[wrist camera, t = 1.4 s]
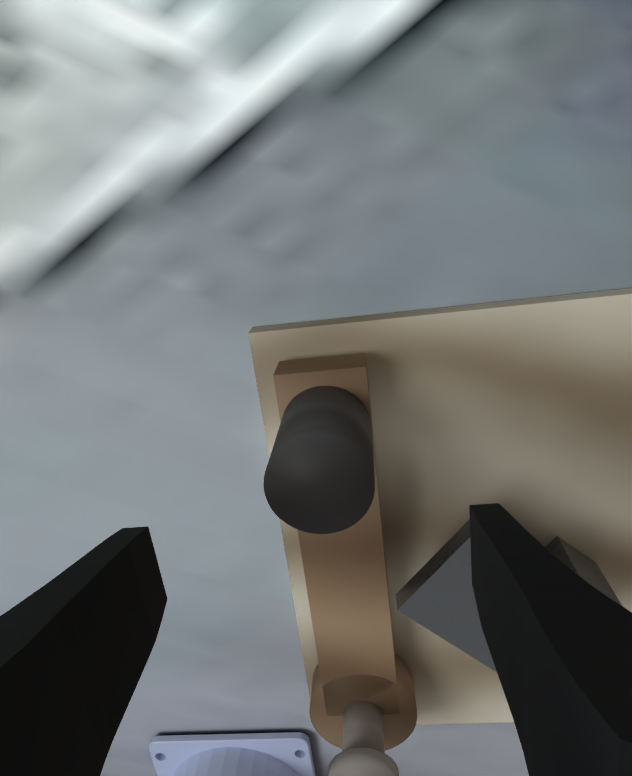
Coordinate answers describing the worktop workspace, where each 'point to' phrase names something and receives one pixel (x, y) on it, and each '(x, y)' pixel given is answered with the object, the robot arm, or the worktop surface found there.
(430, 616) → the keeper
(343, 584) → the link
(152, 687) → the worktop surface
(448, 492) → the latch board
